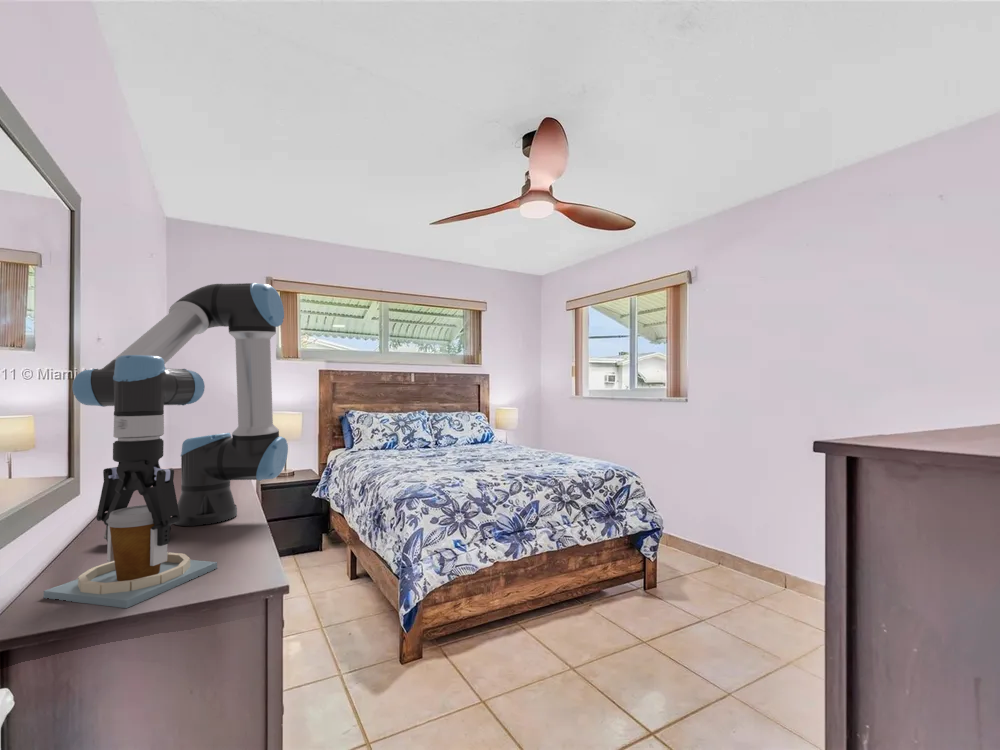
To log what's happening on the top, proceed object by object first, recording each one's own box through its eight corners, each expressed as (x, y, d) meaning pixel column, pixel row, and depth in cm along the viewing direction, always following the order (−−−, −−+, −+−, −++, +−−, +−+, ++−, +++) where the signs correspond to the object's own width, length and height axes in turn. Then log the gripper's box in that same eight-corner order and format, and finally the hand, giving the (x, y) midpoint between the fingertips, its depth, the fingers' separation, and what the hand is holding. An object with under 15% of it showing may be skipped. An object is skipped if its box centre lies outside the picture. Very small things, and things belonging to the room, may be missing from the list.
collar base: (144, 561, 99) (144, 548, 99) (217, 568, 95) (217, 554, 95) (43, 598, 82) (43, 582, 82) (126, 608, 78) (126, 591, 78)
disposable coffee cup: (181, 569, 91) (182, 505, 92) (126, 589, 82) (127, 518, 83) (148, 563, 95) (149, 502, 95) (92, 581, 86) (94, 513, 86)
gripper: (71, 439, 88) (69, 563, 88) (168, 441, 83) (166, 573, 82) (113, 436, 96) (111, 550, 95) (204, 437, 90) (203, 558, 90)
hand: (137, 561), depth 89 cm, fingers open, 9 cm apart
